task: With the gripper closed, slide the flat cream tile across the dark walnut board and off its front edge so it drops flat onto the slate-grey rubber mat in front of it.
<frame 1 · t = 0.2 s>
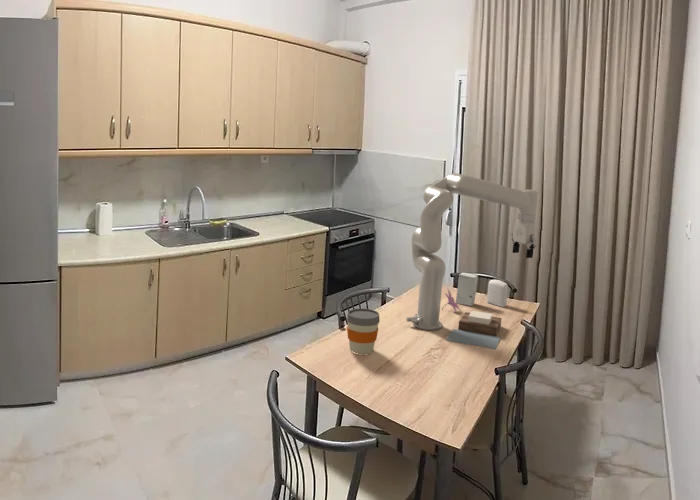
hand: (522, 255, 271), 31 cm above the table, tool pointing down, fingers open, 9 cm apart
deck: (479, 328, 264), on the table
reusable coffee cup: (361, 350, 233), on the table
tile: (480, 320, 262), point 4 cm above the table, touching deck
photo printer: (496, 304, 300), on the table
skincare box: (465, 303, 299), on the table
lily: (450, 311, 286), on the table
mat: (473, 339, 251), on the table
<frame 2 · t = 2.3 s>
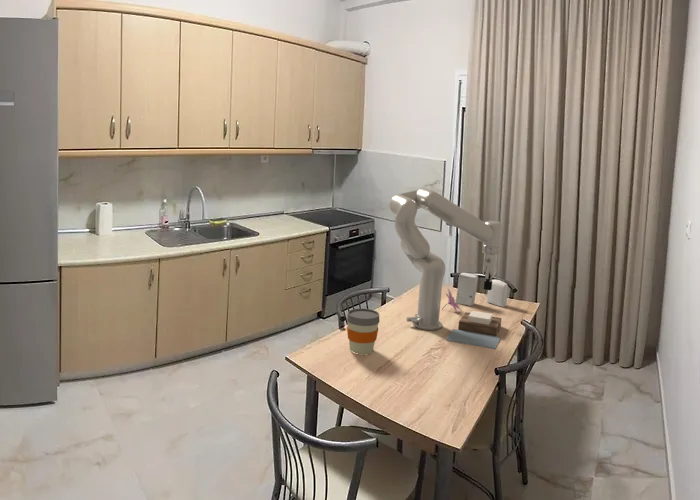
hand: (487, 289, 269), 15 cm above the table, tool pointing down, fingers closed
nothing on the table moved.
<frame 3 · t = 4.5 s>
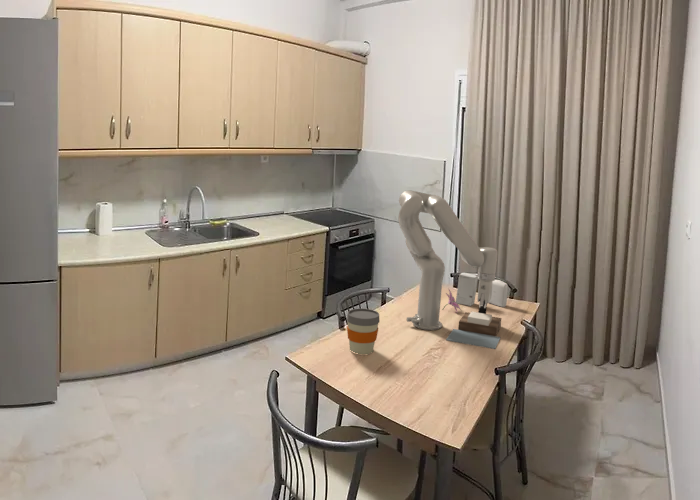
hand: (481, 315, 266), 5 cm above the table, tool pointing down, fingers closed
tile: (479, 321, 261), point 4 cm above the table, touching gripper
everything else where it was.
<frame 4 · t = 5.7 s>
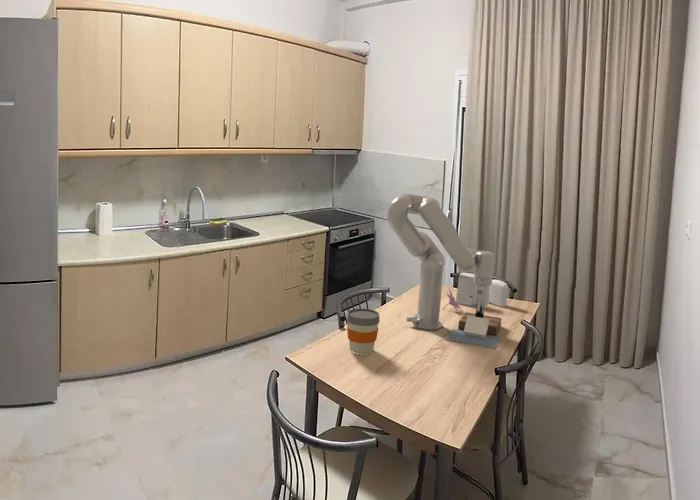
hand: (478, 321, 259), 5 cm above the table, tool pointing down, fingers closed
tile: (476, 328, 255), point 3 cm above the table, tilted 41°, touching gripper
everything else where it was.
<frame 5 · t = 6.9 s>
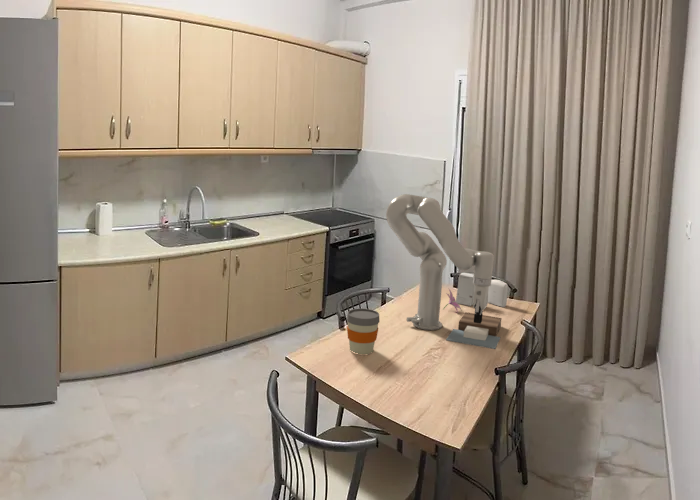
hand: (477, 322, 257), 5 cm above the table, tool pointing down, fingers closed
tile: (475, 335, 254), resting on mat
everything else where it was.
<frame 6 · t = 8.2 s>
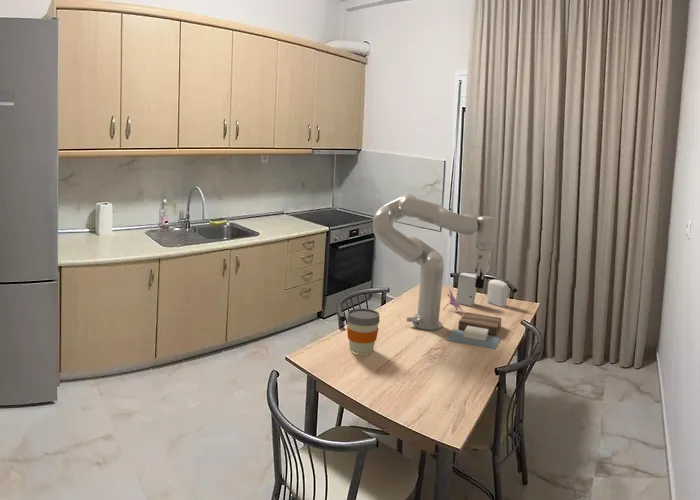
hand: (479, 287, 258), 19 cm above the table, tool pointing down, fingers closed
nothing on the table moved.
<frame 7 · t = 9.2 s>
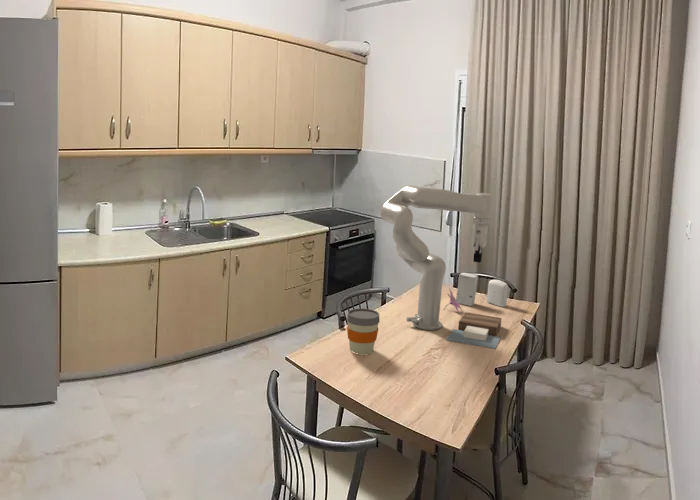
hand: (477, 261, 269), 27 cm above the table, tool pointing down, fingers closed
nothing on the table moved.
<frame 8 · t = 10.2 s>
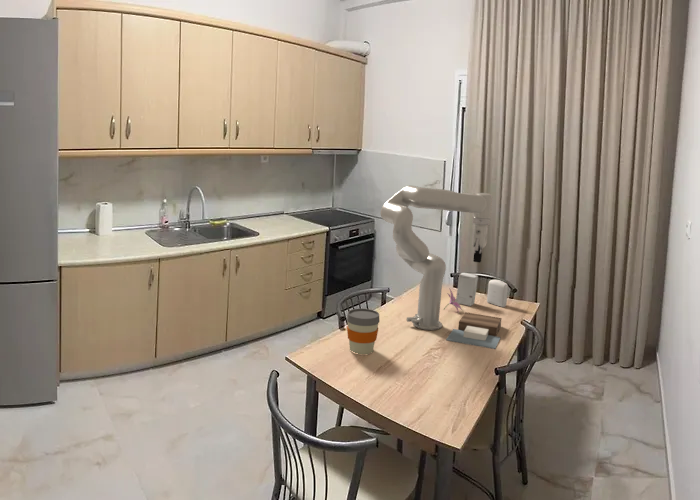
hand: (477, 261, 269), 27 cm above the table, tool pointing down, fingers closed
at the end: tile resting on mat; tile 3.4 cm from the mat (horizontally); tile touching mat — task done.
